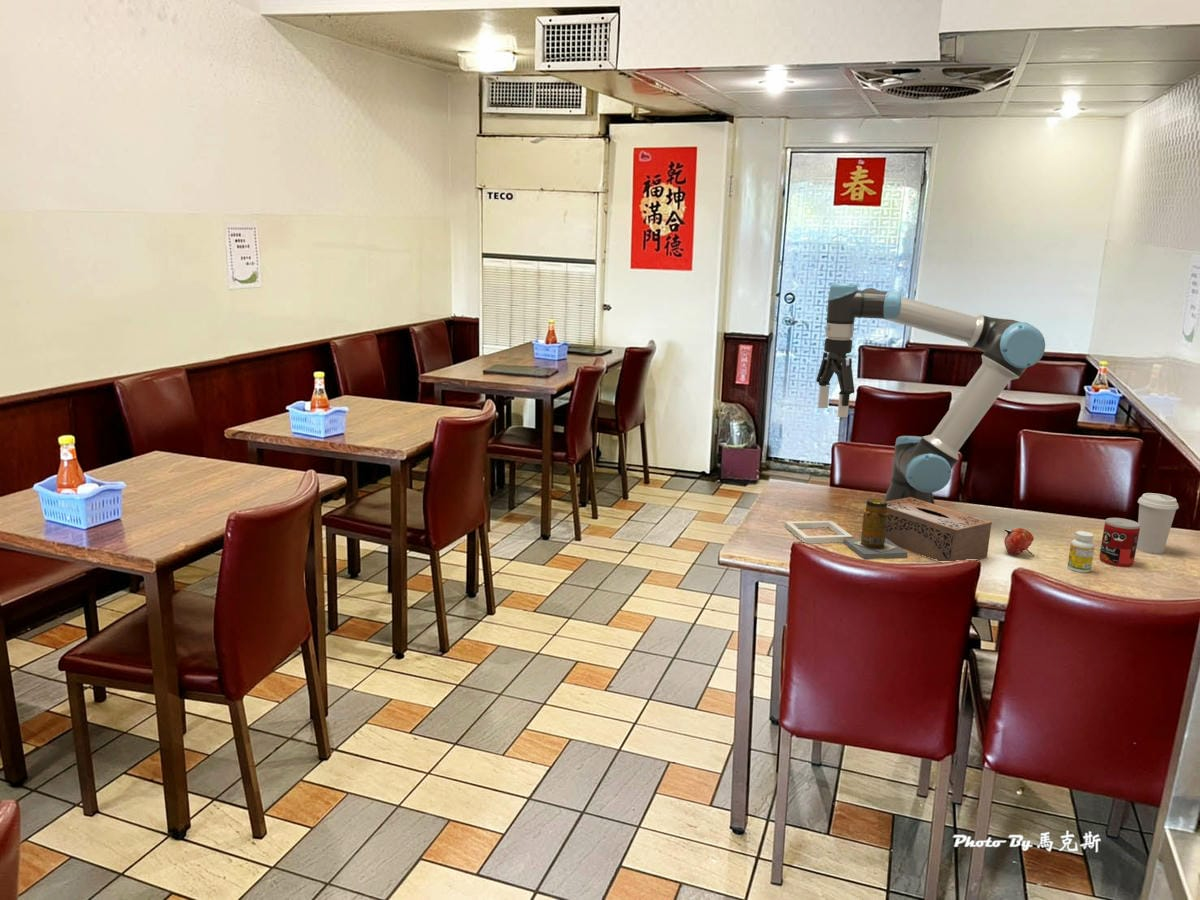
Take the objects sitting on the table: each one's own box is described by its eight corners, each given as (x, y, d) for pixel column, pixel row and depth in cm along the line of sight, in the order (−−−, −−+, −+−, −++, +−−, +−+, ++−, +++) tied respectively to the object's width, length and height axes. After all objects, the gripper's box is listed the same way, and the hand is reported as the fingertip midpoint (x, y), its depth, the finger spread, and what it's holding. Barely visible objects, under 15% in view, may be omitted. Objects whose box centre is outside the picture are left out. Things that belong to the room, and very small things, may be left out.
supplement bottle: (1089, 574, 227) (1095, 538, 225) (1066, 570, 230) (1071, 534, 228) (1091, 568, 232) (1097, 532, 229) (1068, 563, 234) (1073, 528, 232)
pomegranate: (1025, 558, 244) (997, 532, 246) (1047, 542, 240) (1017, 515, 242) (1022, 569, 238) (992, 542, 240) (1043, 553, 234) (1013, 525, 236)
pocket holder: (831, 525, 259) (831, 520, 259) (852, 542, 246) (853, 536, 245) (784, 527, 257) (785, 521, 256) (803, 543, 243) (804, 537, 243)
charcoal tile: (884, 542, 246) (885, 537, 246) (906, 557, 235) (907, 552, 235) (843, 543, 244) (844, 538, 244) (863, 559, 233) (864, 554, 232)
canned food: (1092, 556, 240) (1099, 517, 238) (1120, 556, 241) (1127, 517, 238) (1110, 567, 233) (1117, 526, 230) (1139, 567, 234) (1147, 526, 231)
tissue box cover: (872, 538, 251) (876, 503, 248) (906, 530, 258) (910, 496, 256) (951, 567, 230) (956, 530, 227) (986, 558, 237) (991, 522, 235)
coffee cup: (1170, 558, 241) (1180, 504, 238) (1128, 550, 246) (1138, 497, 243) (1170, 548, 249) (1180, 496, 246) (1130, 541, 254) (1139, 490, 251)
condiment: (869, 538, 245) (873, 496, 242) (896, 547, 238) (901, 504, 235) (853, 543, 240) (857, 500, 237) (880, 552, 234) (885, 508, 231)
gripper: (808, 333, 266) (803, 404, 271) (845, 343, 242) (838, 421, 247) (832, 333, 267) (826, 404, 272) (871, 343, 243) (864, 420, 248)
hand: (832, 412), depth 260 cm, fingers open, 13 cm apart
